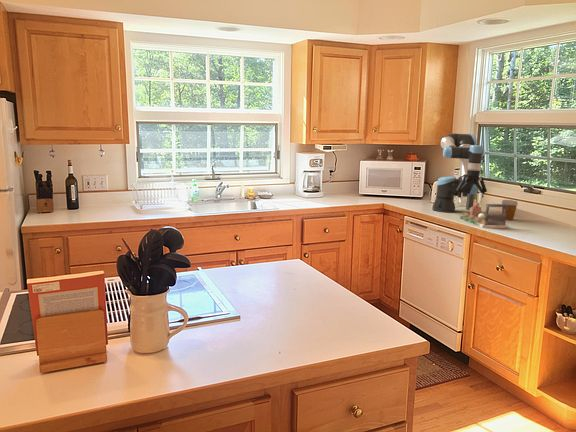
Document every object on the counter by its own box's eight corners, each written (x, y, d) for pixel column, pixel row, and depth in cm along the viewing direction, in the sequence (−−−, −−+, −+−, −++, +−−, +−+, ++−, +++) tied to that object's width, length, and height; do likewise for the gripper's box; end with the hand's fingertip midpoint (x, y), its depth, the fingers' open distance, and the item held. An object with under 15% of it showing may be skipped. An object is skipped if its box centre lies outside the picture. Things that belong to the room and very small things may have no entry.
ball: (476, 219, 296) (477, 212, 295) (482, 219, 296) (483, 212, 295) (479, 220, 292) (480, 214, 291) (485, 220, 292) (486, 214, 292)
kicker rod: (463, 213, 309) (465, 193, 307) (471, 213, 310) (473, 193, 308) (472, 217, 299) (474, 196, 296) (480, 217, 300) (483, 196, 297)
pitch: (459, 218, 304) (462, 197, 301) (482, 218, 306) (485, 197, 303) (482, 227, 278) (485, 204, 276) (507, 227, 281) (510, 204, 278)
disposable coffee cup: (512, 218, 311) (514, 200, 309) (517, 221, 302) (520, 202, 299) (497, 217, 312) (499, 199, 310) (502, 220, 303) (504, 201, 300)
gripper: (458, 169, 297) (454, 203, 301) (495, 170, 301) (491, 203, 305) (452, 168, 304) (449, 201, 308) (488, 169, 308) (484, 202, 312)
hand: (469, 202), depth 307 cm, fingers open, 13 cm apart
